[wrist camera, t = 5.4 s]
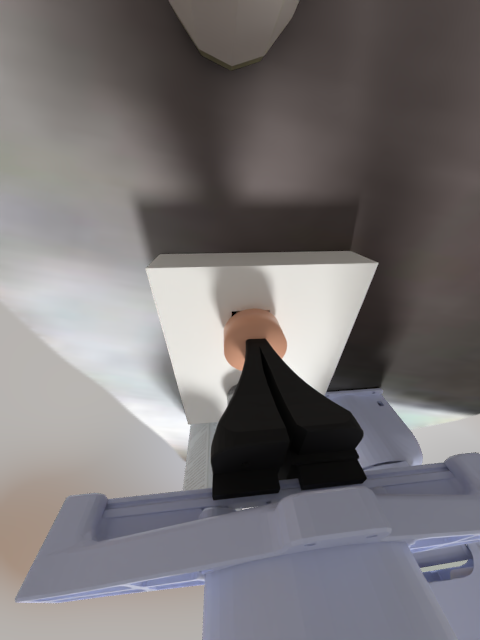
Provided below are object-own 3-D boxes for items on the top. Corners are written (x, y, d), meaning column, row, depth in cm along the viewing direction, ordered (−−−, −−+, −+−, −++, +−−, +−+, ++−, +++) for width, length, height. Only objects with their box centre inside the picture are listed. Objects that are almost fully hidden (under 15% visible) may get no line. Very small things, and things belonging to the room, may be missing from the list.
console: (350, 250, 16) (378, 263, 13) (306, 389, 27) (317, 413, 24) (159, 254, 15) (145, 268, 12) (192, 398, 26) (188, 424, 23)
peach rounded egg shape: (272, 289, 16) (291, 322, 12) (268, 329, 19) (282, 370, 14) (221, 290, 16) (222, 325, 12) (224, 332, 18) (225, 374, 14)
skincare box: (214, 428, 30) (212, 542, 20) (190, 421, 29) (174, 541, 19) (235, 408, 28) (244, 527, 18) (210, 400, 26) (204, 525, 16)
